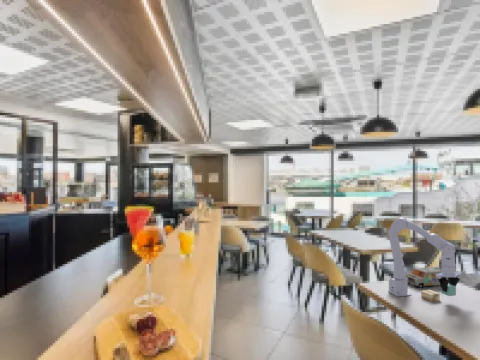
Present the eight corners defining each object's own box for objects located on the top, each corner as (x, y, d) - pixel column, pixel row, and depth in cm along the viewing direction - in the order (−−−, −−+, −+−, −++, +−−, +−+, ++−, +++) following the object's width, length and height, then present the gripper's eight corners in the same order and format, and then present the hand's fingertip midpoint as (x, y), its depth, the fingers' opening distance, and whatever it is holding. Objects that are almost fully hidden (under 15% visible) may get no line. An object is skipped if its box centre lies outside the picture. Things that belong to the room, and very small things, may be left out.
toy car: (403, 283, 184) (403, 267, 184) (436, 280, 188) (436, 265, 188) (416, 289, 173) (416, 272, 173) (451, 286, 178) (451, 270, 178)
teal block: (449, 296, 150) (449, 286, 150) (441, 292, 154) (441, 283, 154) (455, 295, 151) (455, 286, 151) (447, 292, 156) (447, 283, 156)
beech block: (431, 302, 154) (431, 294, 154) (421, 297, 160) (421, 290, 160) (439, 300, 156) (439, 293, 156) (429, 296, 162) (429, 289, 162)
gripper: (444, 268, 147) (444, 294, 147) (466, 266, 151) (466, 292, 151) (432, 264, 154) (432, 289, 154) (453, 263, 158) (453, 287, 158)
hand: (448, 290), depth 153 cm, fingers closed on teal block, 4 cm apart
